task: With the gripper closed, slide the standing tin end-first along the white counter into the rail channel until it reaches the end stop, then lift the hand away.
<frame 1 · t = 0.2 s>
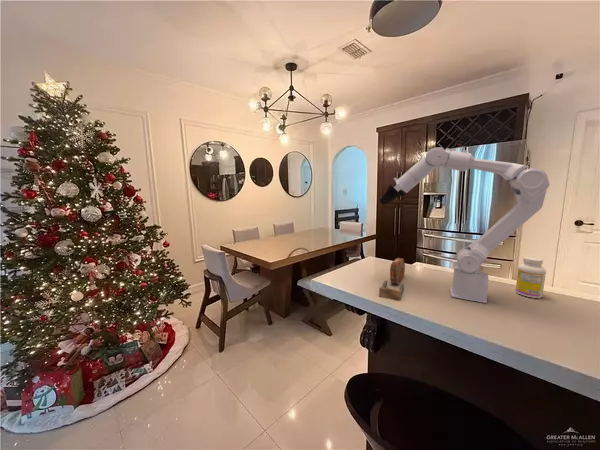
hand: (383, 202, 91), 31 cm above the table, tool tilted 45°, fingers open, 7 cm apart
supplement bottle: (528, 295, 80), on the table
dock: (391, 292, 83), on the table
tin: (397, 280, 95), on the table
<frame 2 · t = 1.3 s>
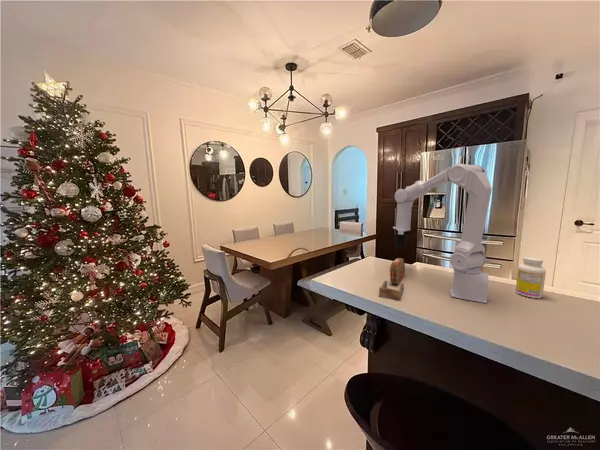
hand: (401, 248, 103), 11 cm above the table, tool pointing down, fingers open, 7 cm apart
nothing on the table moved.
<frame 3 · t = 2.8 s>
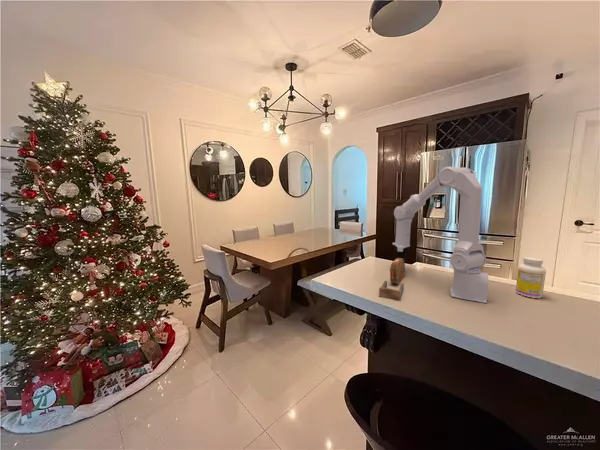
hand: (401, 264, 104), 3 cm above the table, tool pointing down, fingers closed
nothing on the table moved.
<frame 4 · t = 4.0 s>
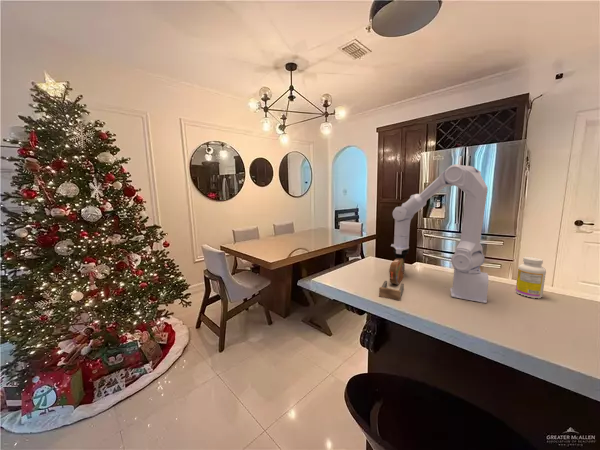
hand: (399, 266, 101), 3 cm above the table, tool pointing down, fingers closed
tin: (396, 281, 94), on the table, touching gripper
everything else where it was.
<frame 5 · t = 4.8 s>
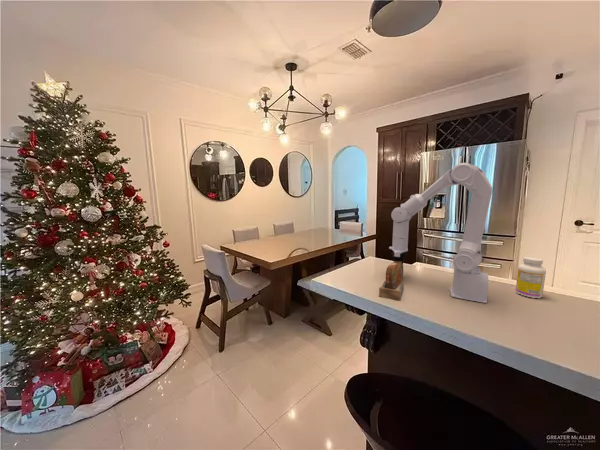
hand: (398, 269, 97), 3 cm above the table, tool pointing down, fingers closed
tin: (394, 285, 90), on the table, touching gripper
everything else where it was.
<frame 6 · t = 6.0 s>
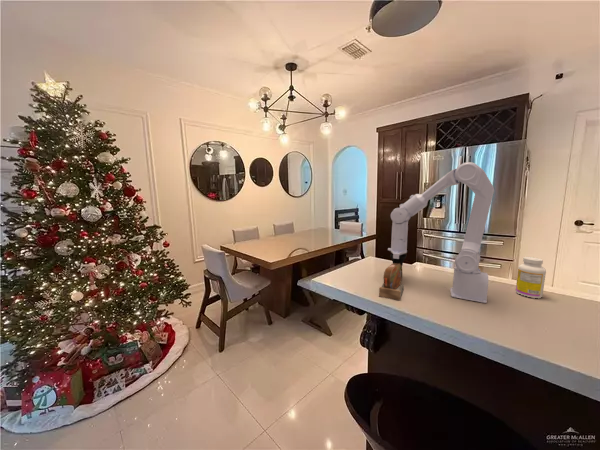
hand: (397, 271, 94), 3 cm above the table, tool pointing down, fingers closed
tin: (392, 287, 87), on the table, touching gripper
everything else where it was.
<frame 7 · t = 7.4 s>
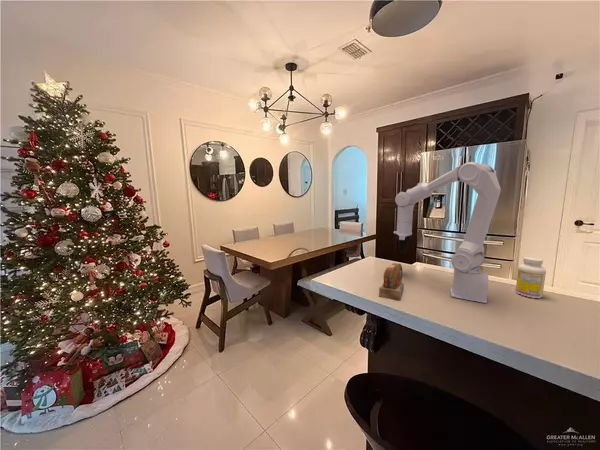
hand: (402, 253, 99), 9 cm above the table, tool pointing down, fingers closed
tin: (392, 288, 87), on the table
everything else where it was.
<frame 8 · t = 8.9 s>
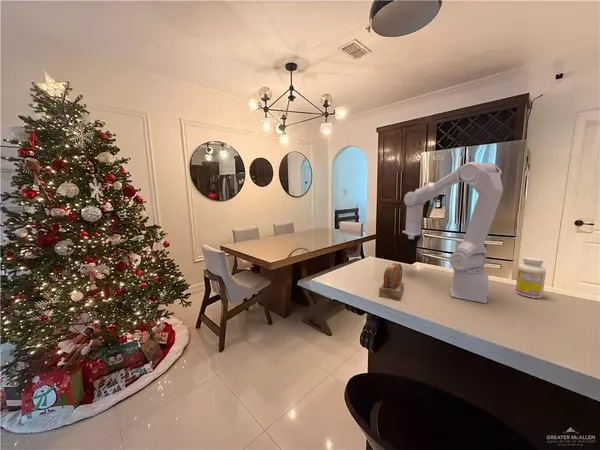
hand: (411, 253, 100), 9 cm above the table, tool pointing down, fingers closed
nothing on the table moved.
at the end: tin 0.5 cm from the target spot on the dock, point 0.0 cm above the dock's base; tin tilted 0°; the gripper is holding nothing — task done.
